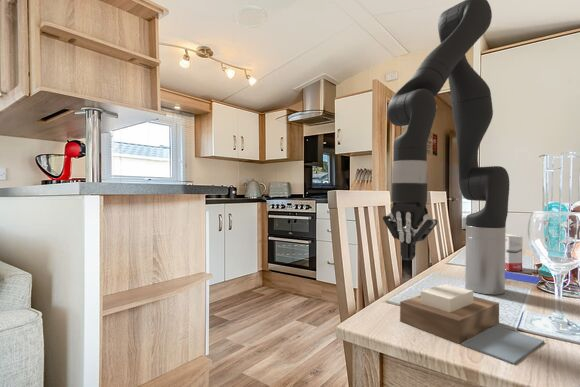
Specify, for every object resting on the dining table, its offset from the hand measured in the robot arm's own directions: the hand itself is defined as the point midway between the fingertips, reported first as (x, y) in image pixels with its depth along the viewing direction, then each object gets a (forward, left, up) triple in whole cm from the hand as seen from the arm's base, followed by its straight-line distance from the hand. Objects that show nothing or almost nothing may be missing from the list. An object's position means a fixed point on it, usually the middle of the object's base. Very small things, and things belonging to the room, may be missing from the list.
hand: (407, 259), depth 74 cm
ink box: (-63, -4, -12) cm, 64 cm away
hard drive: (-50, +3, -12) cm, 52 cm away
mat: (0, +20, -11) cm, 23 cm away
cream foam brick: (0, +9, -7) cm, 12 cm away
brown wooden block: (-1, +9, -11) cm, 15 cm away
